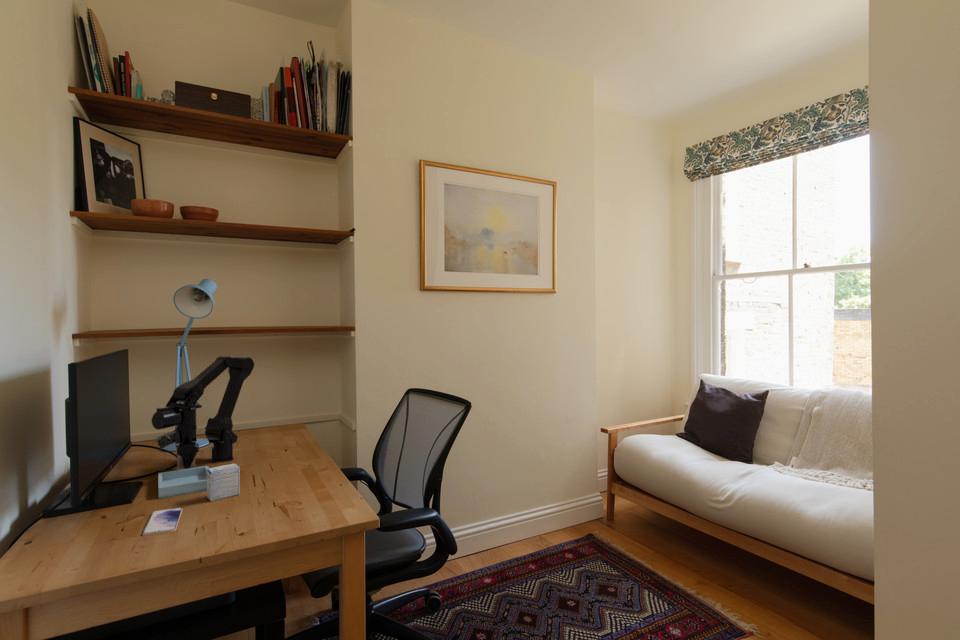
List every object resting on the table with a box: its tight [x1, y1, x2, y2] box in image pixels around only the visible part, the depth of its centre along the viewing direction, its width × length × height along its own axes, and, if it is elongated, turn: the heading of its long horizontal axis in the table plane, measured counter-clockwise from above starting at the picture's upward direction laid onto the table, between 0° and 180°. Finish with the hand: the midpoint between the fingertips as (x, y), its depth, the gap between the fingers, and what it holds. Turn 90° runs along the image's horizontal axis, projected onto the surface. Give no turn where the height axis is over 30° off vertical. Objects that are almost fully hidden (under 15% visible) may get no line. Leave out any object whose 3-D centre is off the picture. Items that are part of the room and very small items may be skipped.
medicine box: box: [206, 463, 241, 502], centre depth 142 cm, size 8×4×9 cm, turn 134°
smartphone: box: [142, 507, 183, 537], centre depth 125 cm, size 7×1×15 cm
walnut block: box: [176, 454, 196, 470], centre depth 163 cm, size 5×5×6 cm
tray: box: [157, 465, 210, 499], centre depth 150 cm, size 14×16×3 cm
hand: (186, 468), depth 163 cm, fingers closed on walnut block, 5 cm apart
